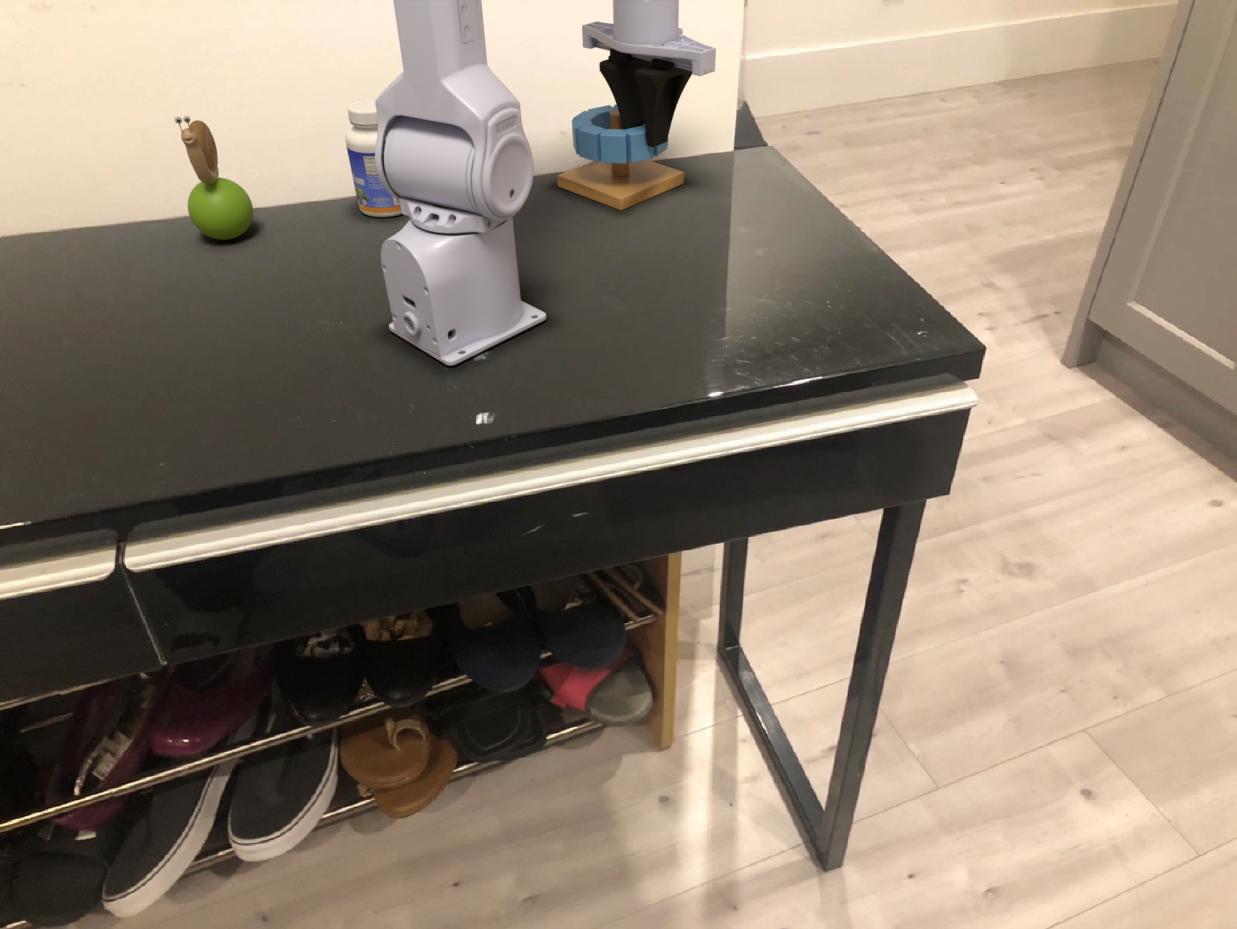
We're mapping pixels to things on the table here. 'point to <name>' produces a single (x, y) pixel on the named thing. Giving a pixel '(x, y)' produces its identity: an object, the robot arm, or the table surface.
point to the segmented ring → (610, 139)
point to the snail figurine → (213, 188)
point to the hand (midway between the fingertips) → (646, 140)
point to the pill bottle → (367, 161)
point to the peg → (620, 179)
